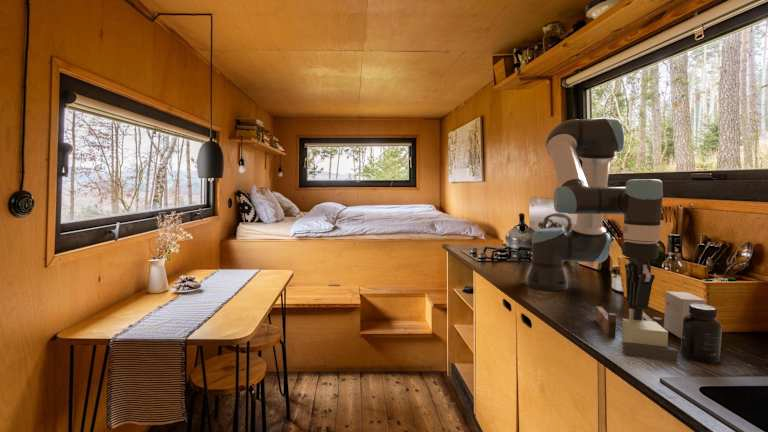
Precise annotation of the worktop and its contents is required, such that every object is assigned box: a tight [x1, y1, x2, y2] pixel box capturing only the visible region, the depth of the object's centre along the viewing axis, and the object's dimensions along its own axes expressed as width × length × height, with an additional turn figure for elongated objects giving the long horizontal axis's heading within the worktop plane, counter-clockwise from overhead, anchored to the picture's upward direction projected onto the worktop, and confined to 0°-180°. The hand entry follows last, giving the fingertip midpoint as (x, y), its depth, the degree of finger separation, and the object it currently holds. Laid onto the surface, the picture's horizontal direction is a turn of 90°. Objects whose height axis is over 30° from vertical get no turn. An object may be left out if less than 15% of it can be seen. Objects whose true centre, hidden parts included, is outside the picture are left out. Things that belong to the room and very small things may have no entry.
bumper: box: [622, 342, 679, 363], centre depth 84 cm, size 2×10×2 cm, turn 72°
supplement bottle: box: [680, 303, 723, 365], centre depth 84 cm, size 7×7×12 cm
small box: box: [663, 290, 707, 339], centre depth 98 cm, size 8×6×10 cm
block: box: [621, 318, 669, 347], centre depth 88 cm, size 7×7×6 cm
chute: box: [594, 305, 663, 339], centre depth 100 cm, size 14×12×6 cm
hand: (635, 332), depth 94 cm, fingers closed
